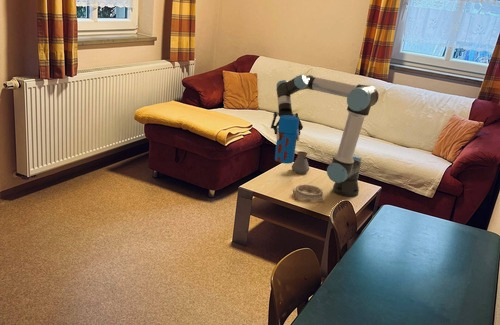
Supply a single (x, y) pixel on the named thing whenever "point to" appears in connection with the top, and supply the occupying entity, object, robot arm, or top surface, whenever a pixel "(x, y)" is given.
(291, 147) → the thermos
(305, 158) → the coffee pot
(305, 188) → the thermos stand
